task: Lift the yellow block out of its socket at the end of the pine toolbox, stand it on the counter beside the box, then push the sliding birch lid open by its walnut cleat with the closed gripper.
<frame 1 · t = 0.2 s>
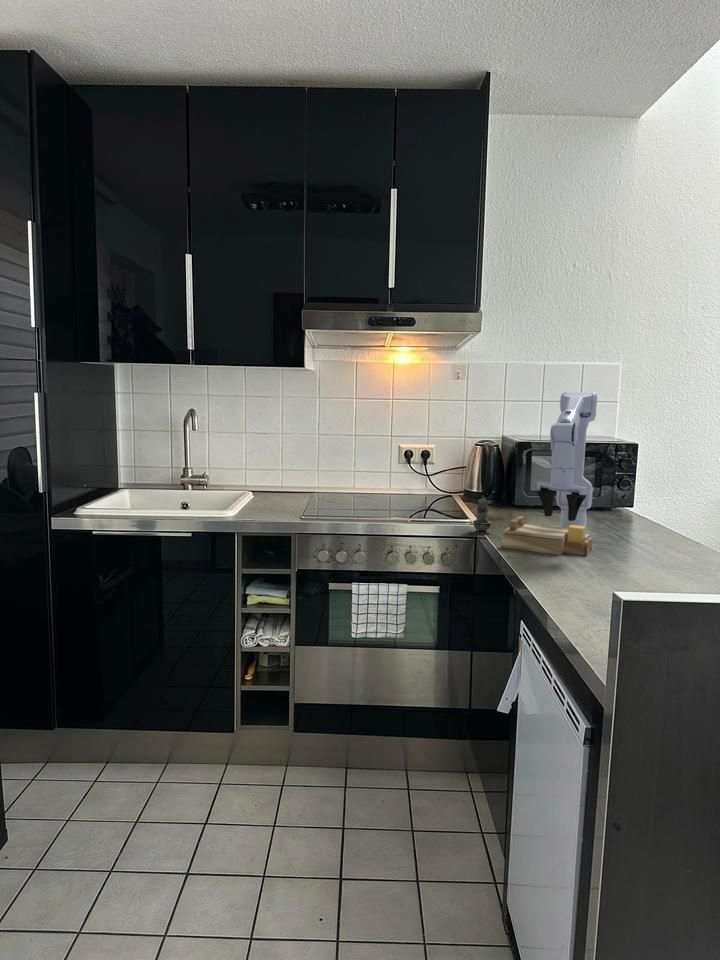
hand: (559, 518, 176), 10 cm above the worktop, fingers open, 7 cm apart
lid: (538, 526, 186), point 6 cm above the worktop, slide at 0.0 cm
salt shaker: (481, 533, 205), on the worktop
yellow block: (575, 551, 181), resting in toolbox
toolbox: (537, 546, 186), on the worktop
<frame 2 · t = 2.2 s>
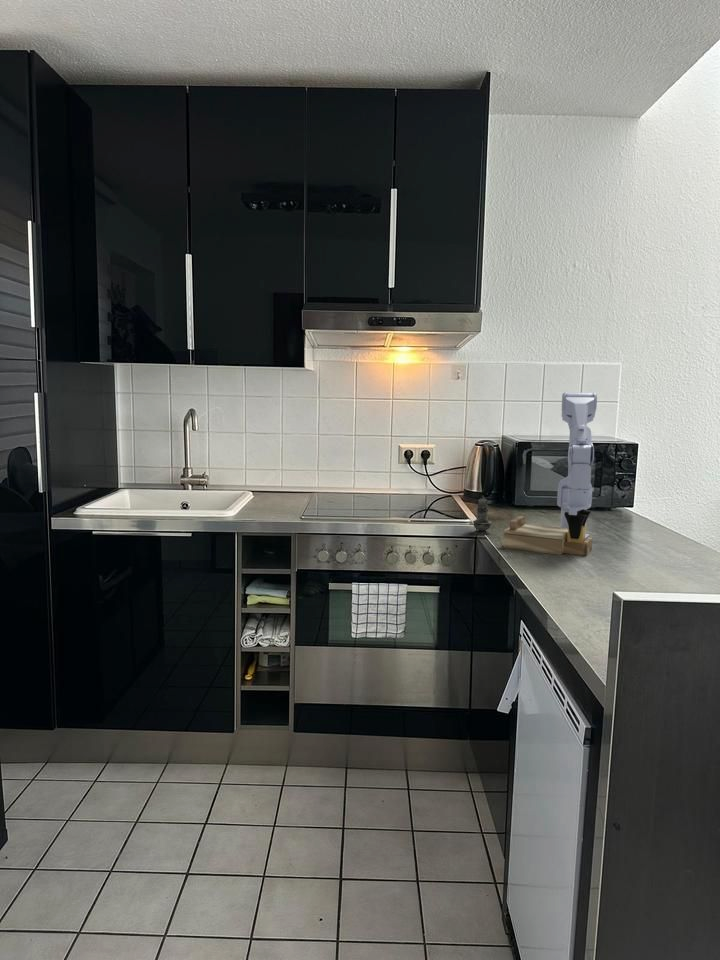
hand: (576, 537, 181), 4 cm above the worktop, fingers closed on yellow block, 4 cm apart
yellow block: (575, 551, 181), resting in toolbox, touching gripper
everything else where it was.
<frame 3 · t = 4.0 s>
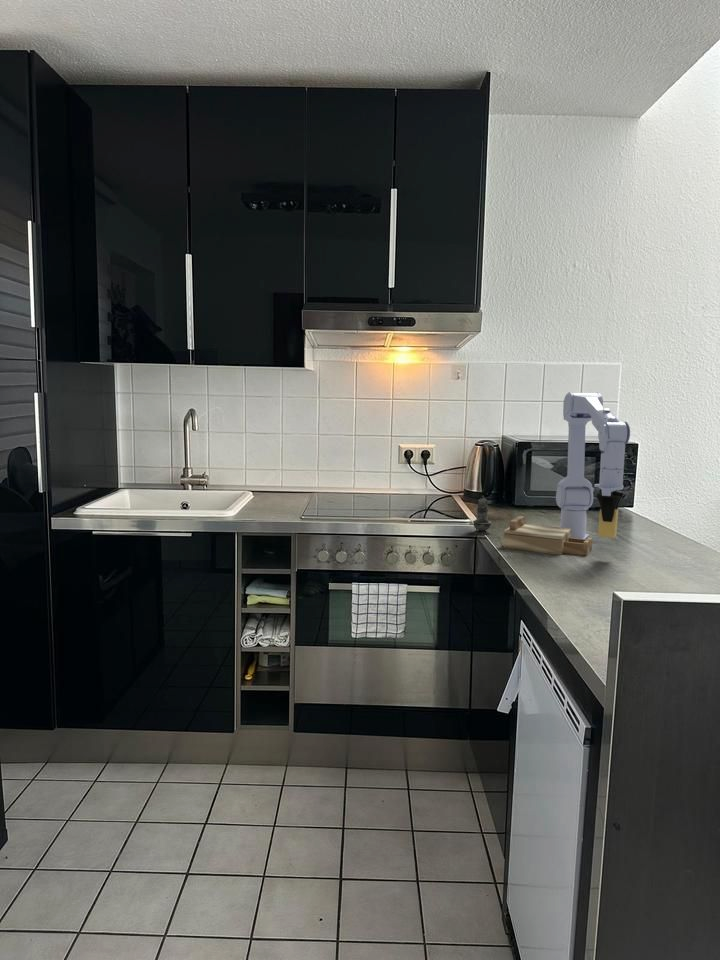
hand: (608, 520, 171), 10 cm above the worktop, fingers closed on yellow block, 4 cm apart
yellow block: (607, 535, 172), point 6 cm above the worktop, touching gripper
everything else where it was.
when the fingers open (5 cm above the worktop, at t = 5.8 s): yellow block drops 1 cm, on the worktop.
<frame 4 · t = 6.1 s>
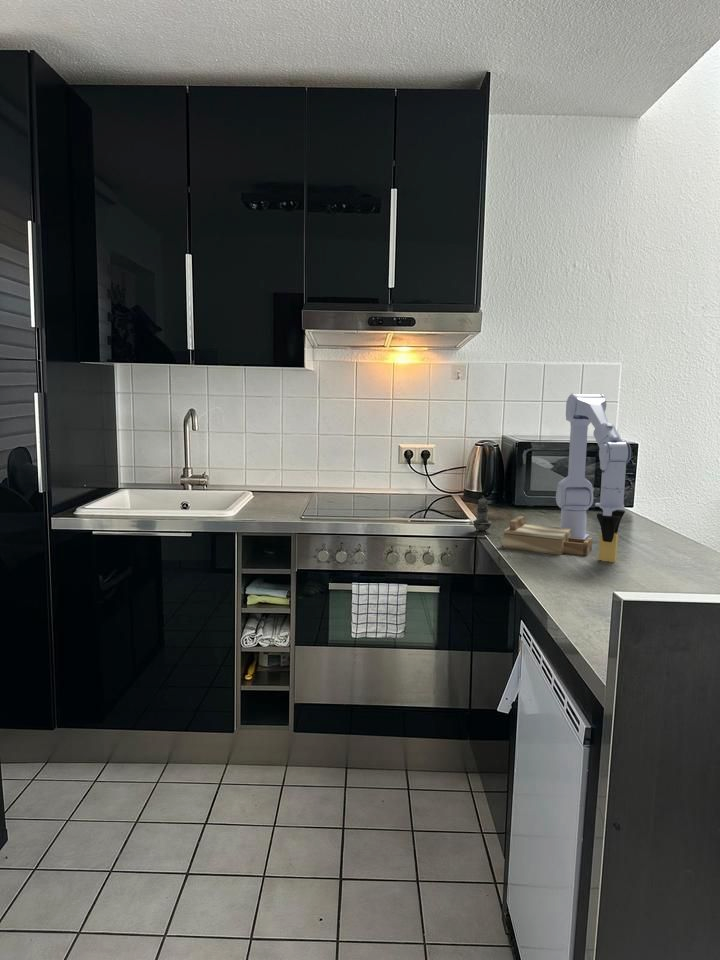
hand: (609, 539, 171), 6 cm above the worktop, fingers open, 6 cm apart
yellow block: (607, 559, 172), on the worktop
everything else where it was.
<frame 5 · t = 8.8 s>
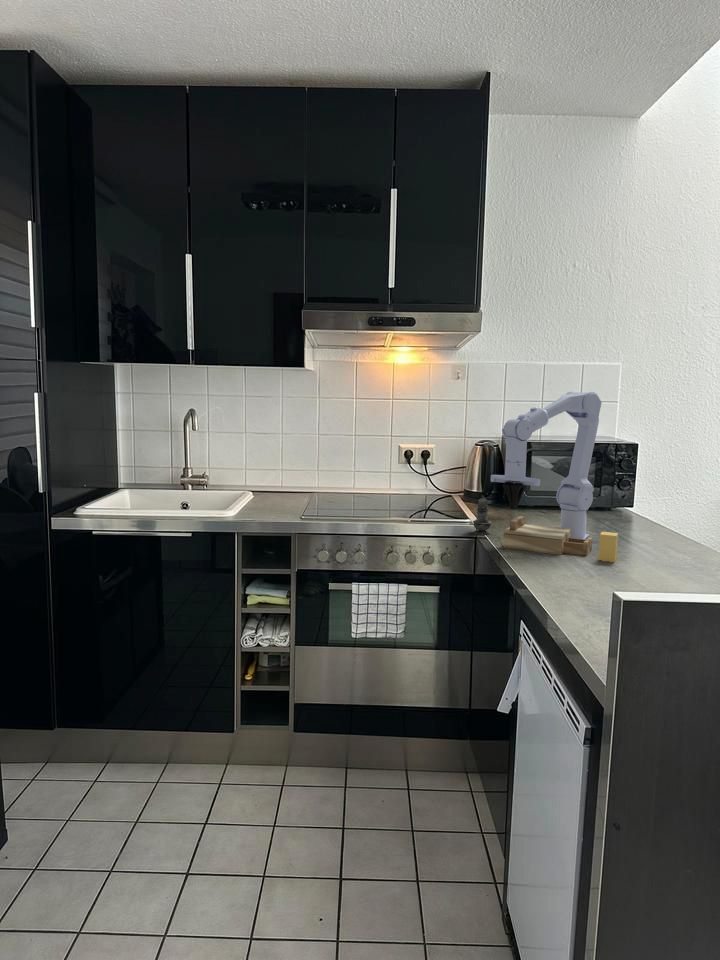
hand: (513, 508, 187), 10 cm above the worktop, fingers closed
nothing on the worktop moved.
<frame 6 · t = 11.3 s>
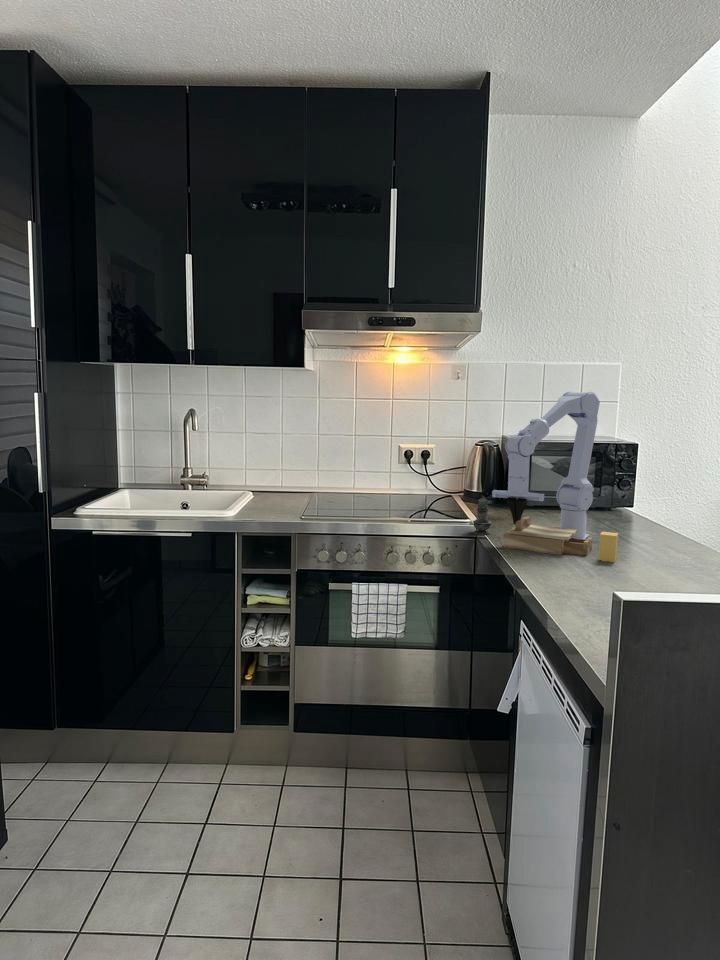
hand: (516, 523, 189), 6 cm above the worktop, fingers closed
lid: (544, 527, 185), point 6 cm above the worktop, slide at 1.7 cm, touching gripper
everything else where it was.
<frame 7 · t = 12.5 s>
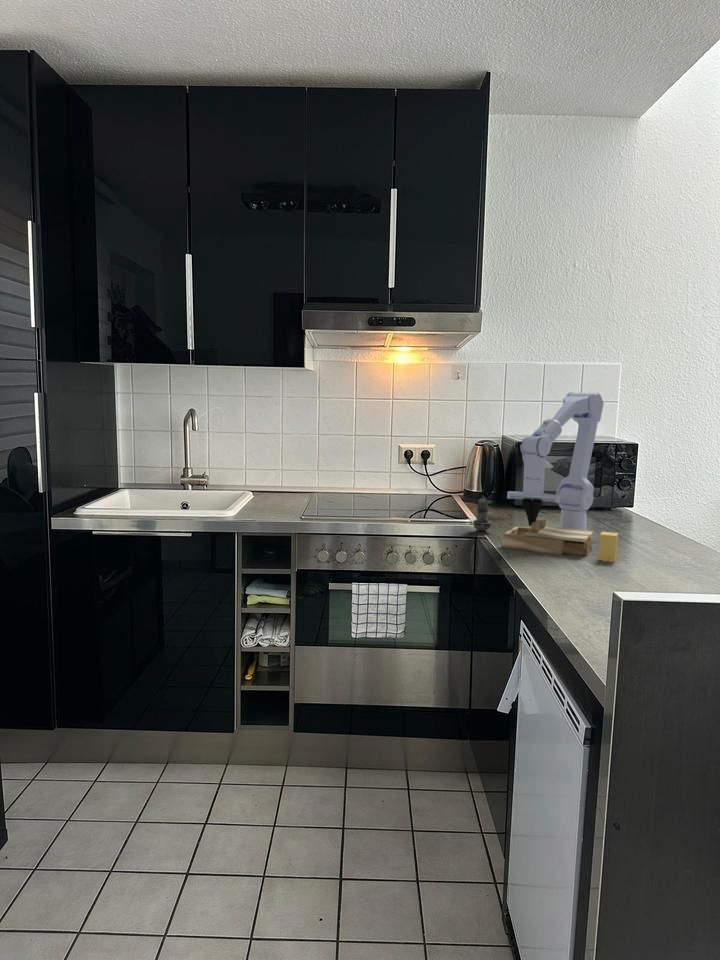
hand: (531, 525, 186), 6 cm above the worktop, fingers closed
lid: (560, 528, 183), point 6 cm above the worktop, slide at 6.1 cm, touching gripper
everything else where it was.
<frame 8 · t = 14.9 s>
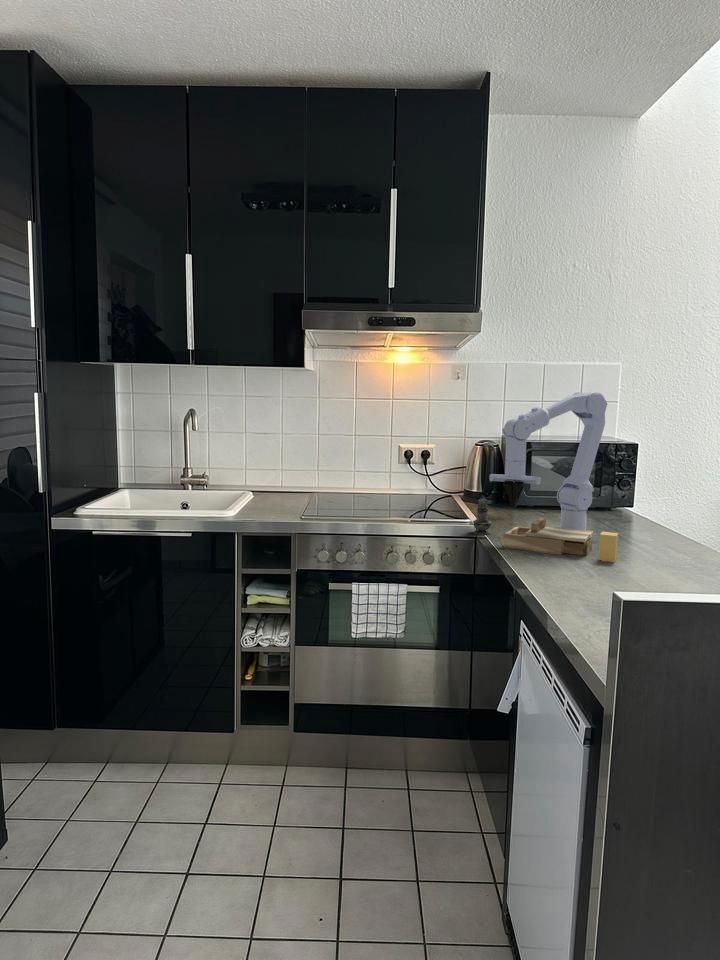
hand: (513, 507, 191), 10 cm above the worktop, fingers closed
lid: (560, 528, 183), point 6 cm above the worktop, slide at 6.1 cm
everything else where it was.
at the end: lid slide at 6.1 cm; yellow block inside the target area (0.2 cm from its centre), on the worktop; yellow block tilted 0° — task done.
